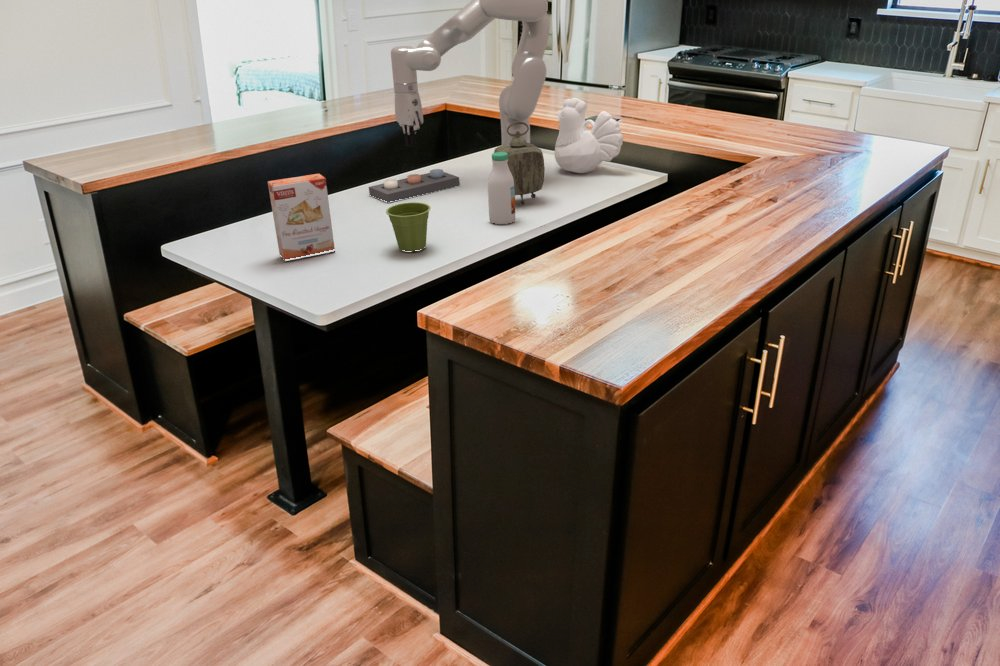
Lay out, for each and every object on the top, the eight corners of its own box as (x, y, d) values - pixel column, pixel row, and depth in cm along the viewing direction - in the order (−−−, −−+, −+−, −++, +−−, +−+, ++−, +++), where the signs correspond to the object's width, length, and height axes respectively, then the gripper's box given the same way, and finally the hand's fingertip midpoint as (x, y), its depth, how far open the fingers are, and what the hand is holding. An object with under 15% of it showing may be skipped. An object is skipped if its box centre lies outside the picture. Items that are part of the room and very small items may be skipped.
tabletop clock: (537, 196, 253) (535, 117, 241) (547, 204, 245) (546, 122, 234) (494, 202, 249) (490, 121, 238) (502, 210, 241) (499, 127, 230)
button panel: (459, 185, 267) (459, 177, 266) (388, 203, 252) (387, 194, 251) (439, 179, 276) (439, 170, 274) (369, 195, 261) (368, 186, 259)
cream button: (400, 190, 258) (399, 181, 257) (389, 193, 255) (388, 184, 254) (393, 187, 261) (392, 178, 260) (382, 190, 259) (381, 181, 257)
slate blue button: (446, 179, 268) (445, 170, 266) (435, 182, 265) (434, 173, 264) (438, 177, 271) (438, 168, 269) (428, 179, 268) (427, 170, 267)
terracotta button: (423, 184, 263) (423, 175, 261) (412, 187, 260) (411, 178, 259) (416, 182, 266) (415, 173, 264) (405, 184, 263) (404, 176, 262)
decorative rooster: (545, 171, 279) (544, 99, 268) (575, 162, 289) (575, 92, 278) (599, 183, 263) (600, 107, 252) (629, 173, 272) (631, 100, 261)
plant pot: (395, 241, 220) (391, 202, 215) (437, 241, 218) (434, 201, 213) (385, 256, 209) (381, 216, 204) (429, 256, 208) (426, 215, 203)
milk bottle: (506, 226, 227) (504, 157, 218) (484, 223, 231) (480, 155, 222) (520, 219, 233) (518, 151, 224) (498, 215, 236) (495, 149, 227)
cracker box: (285, 263, 208) (271, 185, 198) (279, 256, 212) (266, 180, 203) (336, 253, 213) (325, 177, 204) (330, 246, 218) (319, 172, 209)
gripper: (428, 89, 246) (433, 147, 254) (403, 84, 257) (408, 140, 265) (408, 92, 242) (413, 152, 250) (383, 87, 252) (389, 144, 261)
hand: (410, 146), depth 257 cm, fingers closed
